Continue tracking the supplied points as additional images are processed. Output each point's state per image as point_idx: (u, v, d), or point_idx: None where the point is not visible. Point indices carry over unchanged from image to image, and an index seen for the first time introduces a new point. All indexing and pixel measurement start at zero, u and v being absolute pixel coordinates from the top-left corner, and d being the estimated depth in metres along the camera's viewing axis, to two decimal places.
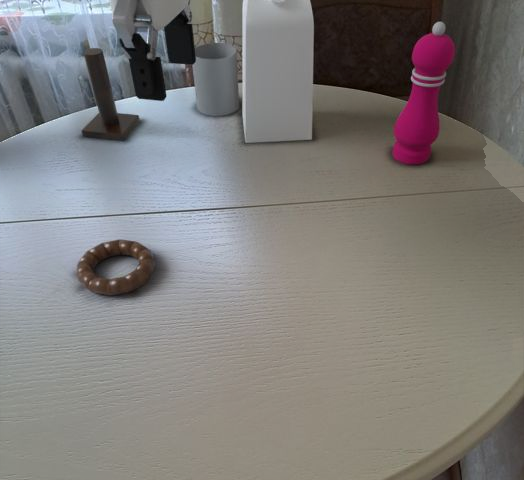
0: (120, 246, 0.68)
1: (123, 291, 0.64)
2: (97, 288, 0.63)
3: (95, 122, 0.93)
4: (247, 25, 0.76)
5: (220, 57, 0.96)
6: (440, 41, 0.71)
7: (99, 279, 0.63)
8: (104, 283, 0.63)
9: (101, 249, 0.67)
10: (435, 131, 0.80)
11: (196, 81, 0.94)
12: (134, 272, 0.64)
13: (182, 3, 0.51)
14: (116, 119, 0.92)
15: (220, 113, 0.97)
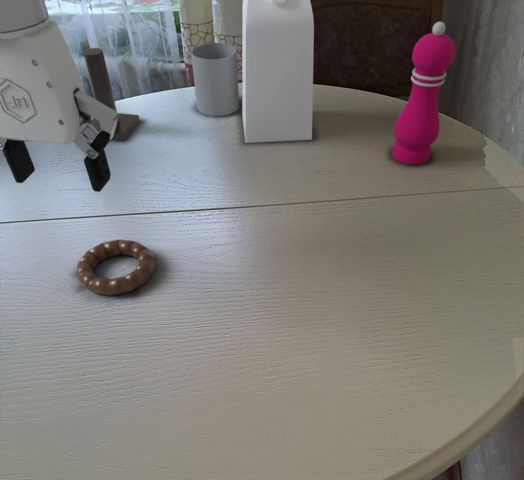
0: (120, 246, 0.68)
1: (123, 291, 0.64)
2: (97, 288, 0.63)
3: (95, 122, 0.93)
4: (247, 25, 0.76)
5: (220, 57, 0.96)
6: (440, 41, 0.71)
7: (99, 279, 0.63)
8: (104, 283, 0.63)
9: (101, 249, 0.67)
10: (435, 131, 0.80)
11: (196, 81, 0.94)
12: (134, 272, 0.64)
13: None
14: None
15: (220, 113, 0.97)
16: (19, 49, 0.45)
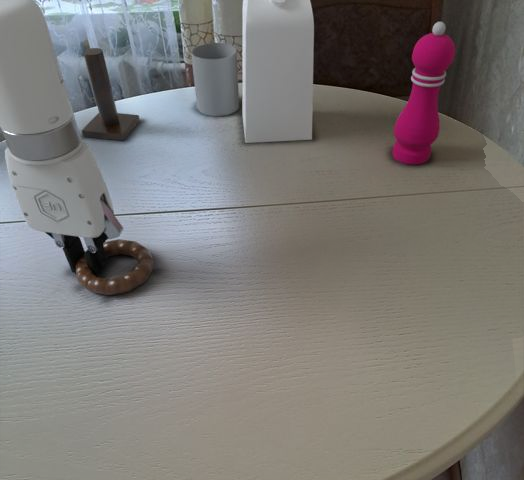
0: (119, 246, 0.68)
1: (122, 291, 0.64)
2: (96, 288, 0.63)
3: (95, 122, 0.93)
4: (247, 25, 0.76)
5: (220, 57, 0.96)
6: (440, 41, 0.71)
7: (98, 279, 0.63)
8: (103, 283, 0.63)
9: None
10: (435, 131, 0.80)
11: (196, 81, 0.94)
12: (133, 272, 0.64)
13: None
14: (116, 119, 0.92)
15: (220, 113, 0.97)
16: (57, 170, 0.54)
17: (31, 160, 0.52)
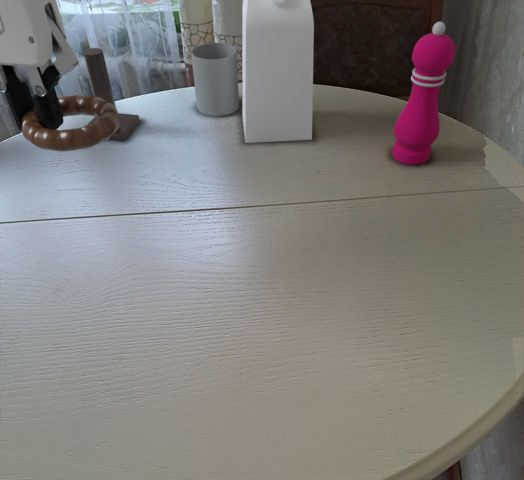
0: (78, 101, 0.55)
1: (78, 146, 0.51)
2: (45, 140, 0.50)
3: None
4: (247, 25, 0.76)
5: (220, 57, 0.96)
6: (440, 41, 0.71)
7: (47, 129, 0.50)
8: (53, 133, 0.50)
9: None
10: (435, 131, 0.80)
11: (196, 81, 0.94)
12: (92, 123, 0.51)
13: None
14: None
15: (220, 113, 0.97)
16: None
17: None
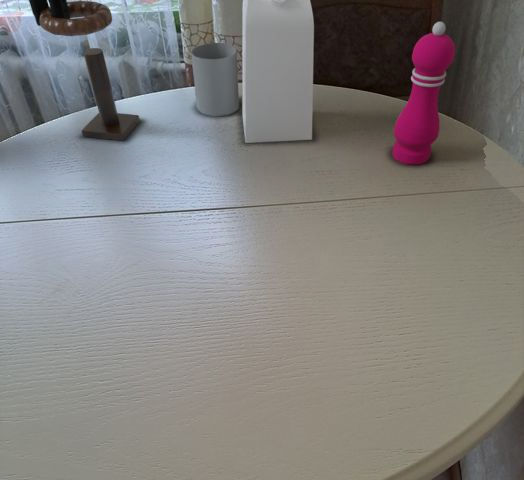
0: (81, 5, 0.73)
1: (80, 31, 0.69)
2: (56, 26, 0.69)
3: (95, 122, 0.93)
4: (247, 25, 0.76)
5: (220, 57, 0.96)
6: (440, 41, 0.71)
7: (58, 18, 0.69)
8: (62, 20, 0.68)
9: None
10: (435, 131, 0.80)
11: (196, 81, 0.94)
12: (91, 15, 0.69)
13: None
14: (116, 119, 0.92)
15: (220, 113, 0.97)
16: None
17: None
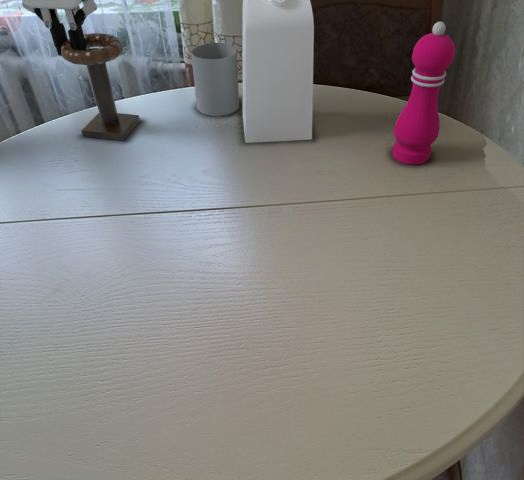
0: (95, 37, 0.85)
1: (96, 61, 0.81)
2: (76, 57, 0.80)
3: (95, 122, 0.93)
4: (247, 25, 0.76)
5: (220, 57, 0.96)
6: (440, 41, 0.71)
7: (77, 50, 0.81)
8: (81, 52, 0.80)
9: None
10: (435, 131, 0.80)
11: (196, 81, 0.94)
12: (105, 47, 0.81)
13: None
14: (116, 119, 0.92)
15: (220, 113, 0.97)
16: None
17: None
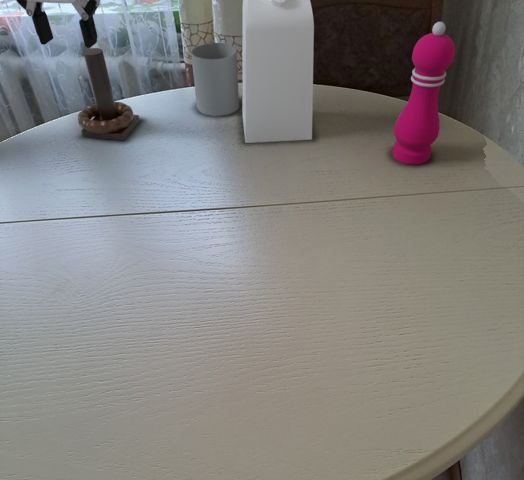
0: None
1: (110, 130, 0.90)
2: (92, 127, 0.89)
3: None
4: (247, 25, 0.76)
5: (220, 57, 0.96)
6: (440, 41, 0.71)
7: (93, 121, 0.89)
8: (97, 123, 0.89)
9: (95, 106, 0.93)
10: (435, 131, 0.80)
11: (196, 81, 0.94)
12: (118, 117, 0.90)
13: None
14: None
15: (220, 113, 0.97)
16: None
17: None
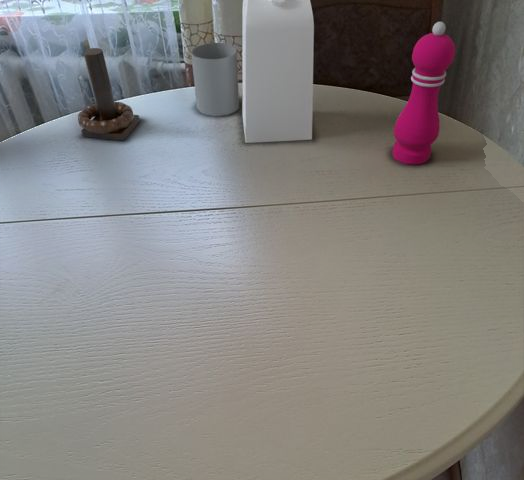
0: None
1: (110, 130, 0.90)
2: (92, 127, 0.89)
3: None
4: (247, 25, 0.76)
5: (220, 57, 0.96)
6: (440, 41, 0.71)
7: (93, 121, 0.89)
8: (97, 123, 0.89)
9: (95, 106, 0.93)
10: (435, 131, 0.80)
11: (196, 81, 0.94)
12: (118, 117, 0.90)
13: None
14: None
15: (220, 113, 0.97)
16: None
17: None
